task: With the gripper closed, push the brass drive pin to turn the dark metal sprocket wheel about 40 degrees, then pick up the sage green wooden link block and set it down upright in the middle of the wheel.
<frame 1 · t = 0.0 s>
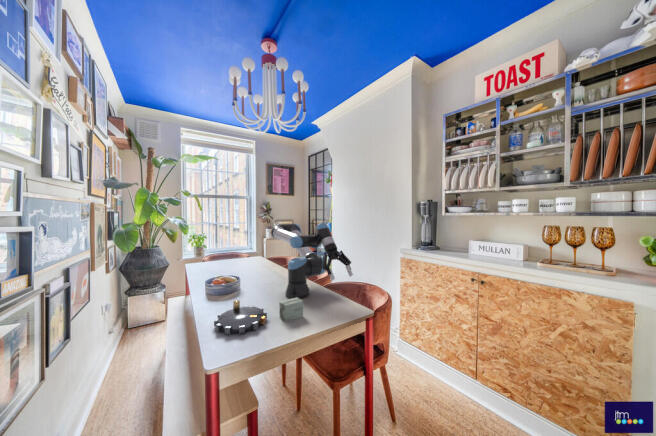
hand: (342, 277, 130), 15 cm above the table, tool tilted 35°, fingers open, 13 cm apart
sprocket wheel: (241, 314, 107), point 4 cm above the table, hinge at 0.0°
link block: (291, 317, 113), on the table
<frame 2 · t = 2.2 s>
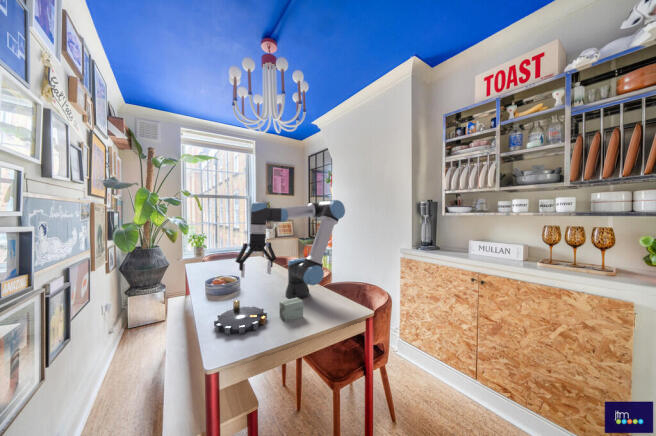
hand: (256, 275, 114), 21 cm above the table, tool pointing down, fingers open, 13 cm apart
nothing on the table moved.
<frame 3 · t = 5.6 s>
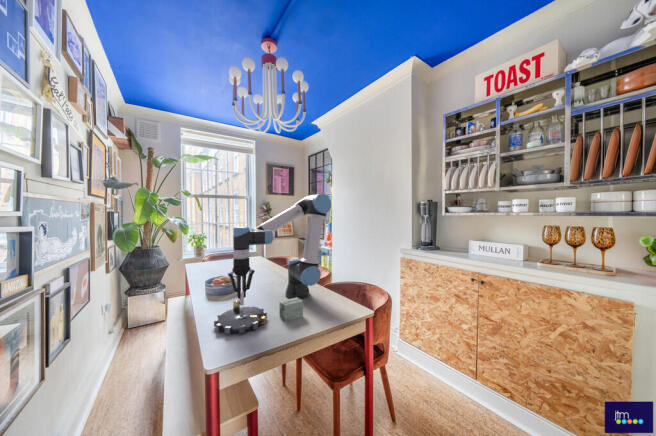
hand: (241, 304, 114), 6 cm above the table, tool pointing down, fingers closed
sprocket wheel: (241, 314, 107), point 4 cm above the table, hinge at 0.1°, touching gripper
everything else where it was.
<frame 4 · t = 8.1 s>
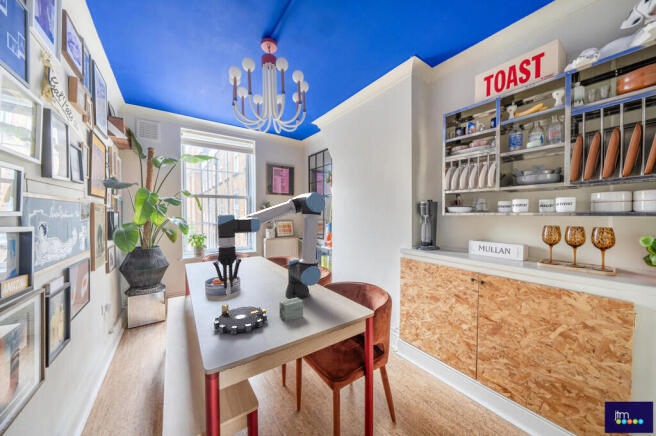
hand: (228, 294, 110), 12 cm above the table, tool pointing down, fingers closed
sprocket wheel: (241, 314, 107), point 4 cm above the table, hinge at 43.3°
everything else where it was.
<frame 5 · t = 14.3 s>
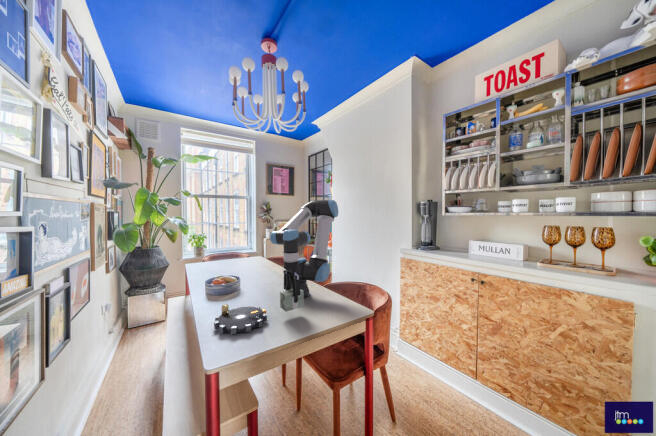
hand: (291, 306, 114), 5 cm above the table, tool pointing down, fingers closed on link block, 6 cm apart
link block: (292, 306, 114), point 5 cm above the table, touching gripper
everything else where it was.
when the fingers open (5 cm above the table, at t = 19.9 s): link block stays where it is, resting on sprocket wheel.
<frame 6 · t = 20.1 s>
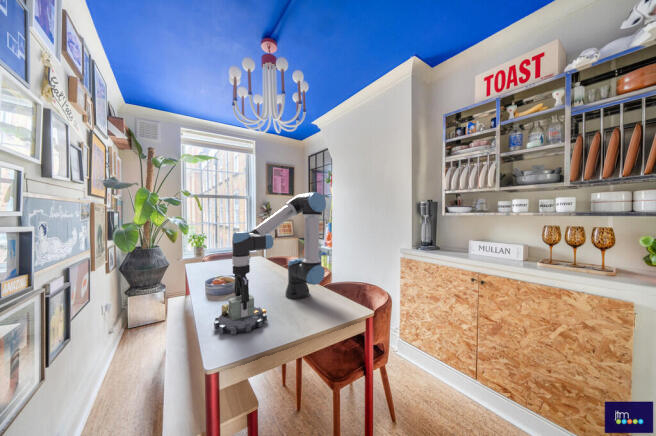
hand: (241, 312, 106), 5 cm above the table, tool pointing down, fingers open, 8 cm apart
sprocket wheel: (241, 314, 107), point 4 cm above the table, hinge at 43.3°, touching link block
link block: (241, 315, 107), point 4 cm above the table, touching sprocket wheel
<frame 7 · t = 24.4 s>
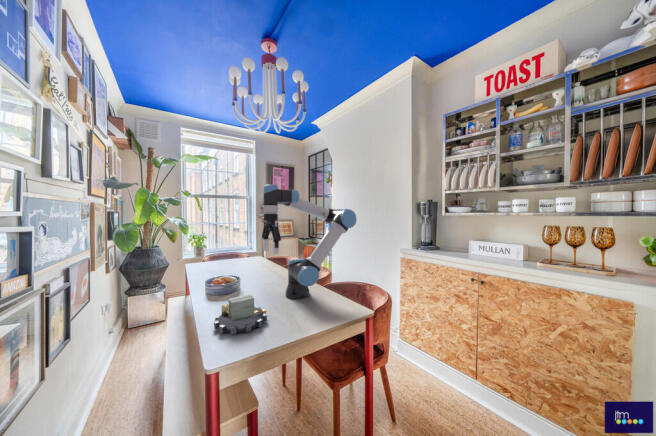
hand: (270, 252, 123), 31 cm above the table, tool pointing down, fingers open, 13 cm apart
nothing on the table moved.
at the end: sprocket wheel at +43° (first picture: +0°); link block inside the target area on the sprocket wheel (0.1 cm from its centre), point 3.8 cm above the sprocket wheel's base; link block tilted 0° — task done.
